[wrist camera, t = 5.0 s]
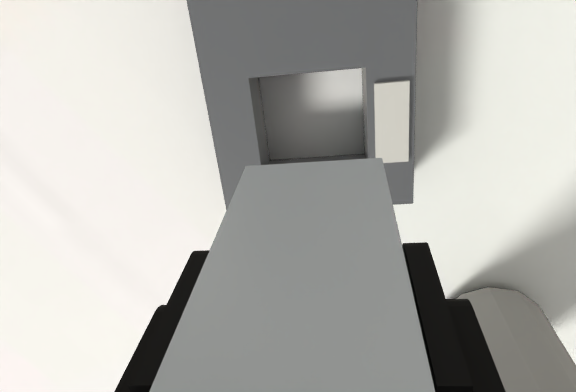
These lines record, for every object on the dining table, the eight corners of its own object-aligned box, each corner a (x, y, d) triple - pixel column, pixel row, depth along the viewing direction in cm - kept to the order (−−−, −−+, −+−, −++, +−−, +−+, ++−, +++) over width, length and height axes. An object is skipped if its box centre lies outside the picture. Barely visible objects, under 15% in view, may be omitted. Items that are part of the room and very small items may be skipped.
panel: (409, -289, 18) (425, -336, 15) (404, 179, 27) (413, 205, 24) (161, -245, 19) (131, -281, 16) (236, 189, 28) (226, 215, 25)
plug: (382, 157, 13) (470, 547, 4) (383, 270, 15) (448, 702, 6) (245, 165, 14) (89, 529, 5) (263, 273, 15) (171, 677, 7)
